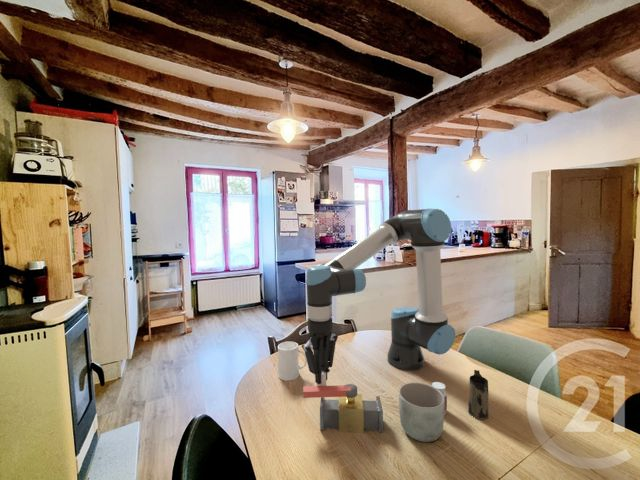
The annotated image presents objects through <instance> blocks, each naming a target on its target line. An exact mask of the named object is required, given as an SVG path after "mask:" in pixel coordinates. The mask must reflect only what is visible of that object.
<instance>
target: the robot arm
mask: <svg viewBox="0 0 640 480" xmlns="http://www.w3.org/2000/svg"><path fill="white" fill-rule="evenodd" d="M451 233H452V222H451V220H450V218H449V216H448V214H447V213H445V211H443V210H442V209H439V208H423V209H409V210H408V209H407V210H404V211H401V212H399V213H397V214H394V215H393V216H391V217H390V218H388V219H386V220H385V221H383V222H382V223H381V224H380V225H379V227H378V228H377V229H376V230H375V231H373V232H372V233H370V234H369V235H367V236H366V237H364V238H363V239H362V240H360V241H359V242H356V243H355V244H354V245H352V246H351V247H349V248H348V249H346V250H345V251H343V252H342V253H340V254H339V255H338V256H336V257H335V258H333V259H331V260H330V261H328V262H327V263H319V264H317V265H314V266H313V265H312V266H310V267H308V268H307V269H306V277H305V278H306V279H305V280H306V281H305V284H306V301H307V302H306V306H307V307H306V310H307V311H306V312H307V331H308V333H309V334H308V338H307V342H306V343H303V344H301V349H302V351H303V352H304V353H305V355H306V359H307V363H306V364H307V366H308V371H309V372H310V373H312V374H313V375H314V379H315V380H314V381H315V384H316V386H327V381H328V373H330V371H331V369H329V368H332V367H333V363H334V357H335V350H336V344H337V340H338V337H339V336H338V335H337V334H335V333H333V318H332V316H333V297H337V296H341V295H343V296H344V295H349V294H356V293H360V292H362V291H364V290H365V288H366V286H367V278H366V275H365V272H364V271H363V270H362V269H360V268H358V267H360V266H361V265H363V264H364V263H366V262H367V261H368V260H369V259H371V258H372V257H374V256H375V255H377V254H378V253H379V252H380V251H382V250H384V249H385V248H387V247H388V246H390V245H395V244H397V243H398V242H400V241H403V240H404V241H405V240H410V245H411V247H412V249H414V250H415V259H416V260H415V262H416V263H415V265H416V278H417V279H416V281H417V297H418V298H417V301H418V302H417V303H418V307H414V306H413V307H412V306H401V307H397V308H396V307H395V308H394V309H393V310H392V311H391V318H390V321H391V324H390V325H391V328H390V329H391V343H390V346H389V349H388V352H387V361H388V364H390V365H391V366H392V367H395V368H397V369H401V370H406V371H415V370H419V368H420V369H422V368H423V367H424V366H425V358H424V357H425V356H424V354H423V349H425V350H427V351H428V352H429V353H433V354H436V355H438V356H439V355H444V354H447V352H448V351H450V349H451V348H452V346H453V345H454V343H455V340H456V330H455V328H454V327H453V326H452V325H451V324H448V323H449V321H448V320H449V318H448V315H447V314H446V313H445V312H444V308H443V307H444V305H443V287H442V284H443V283H442V282H443V281H442V262H441V260H442V259H441V250H442V248H443V247H444V246H445V241H446V240H448V239H449V237H450V234H451ZM422 348H423V349H422ZM306 359H305V360H306ZM423 365H424V366H423ZM421 367H422V368H421Z"/></svg>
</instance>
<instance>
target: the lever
mask: <svg viewBox="0 0 640 480" xmlns="http://www.w3.org/2000/svg"><path fill="white" fill-rule="evenodd" d="M357 394H358V387H357V385H355V384H353V383H346V384H344V385H343V384H342V385H341V384H338V385H326V386H317V385H308V386H307V385H306V386H303V387H302V395H303V396H302V397H303V399H308V398H310V399H311V398H314V399H315V398H321V397H325V398H339V397H349V398H353V397H356V396H357Z"/></svg>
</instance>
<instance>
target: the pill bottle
mask: <svg viewBox="0 0 640 480" xmlns="http://www.w3.org/2000/svg"><path fill="white" fill-rule="evenodd" d="M431 386H433V387H435V388H436V389H438V390H439V391H440V392H441V393H442V394H443V396H444V398H445V407H444V416H445V415H446V414H447V412H448V410H447V409H448V405H447V404H448V401H447V400H448V399H447V398H448V393H447V389H446V384H444V383H443V382H439V381H434V382H432V384H431Z"/></svg>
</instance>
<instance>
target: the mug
mask: <svg viewBox="0 0 640 480" xmlns="http://www.w3.org/2000/svg"><path fill="white" fill-rule="evenodd" d="M299 353H301V354H302V355H303V356H304V359H305V362H304V364H302V365H301V366H300V365H299V360H300V359H299ZM277 363H278V364H277V367H278V368H277V369H278V371H277V377H278V379H280V380H282V381H287V382H289V381H293V380H296V379H297V378H299V376H300V370H301V369H304V368H305V367H306V364H308V363H307V359H306V355H305V351H304V350H303V349H302V350H301V349H300V348H299V343H297V342H295V341H284V342H283V341H282V342H281V343H279V344H278V345H277Z"/></svg>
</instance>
